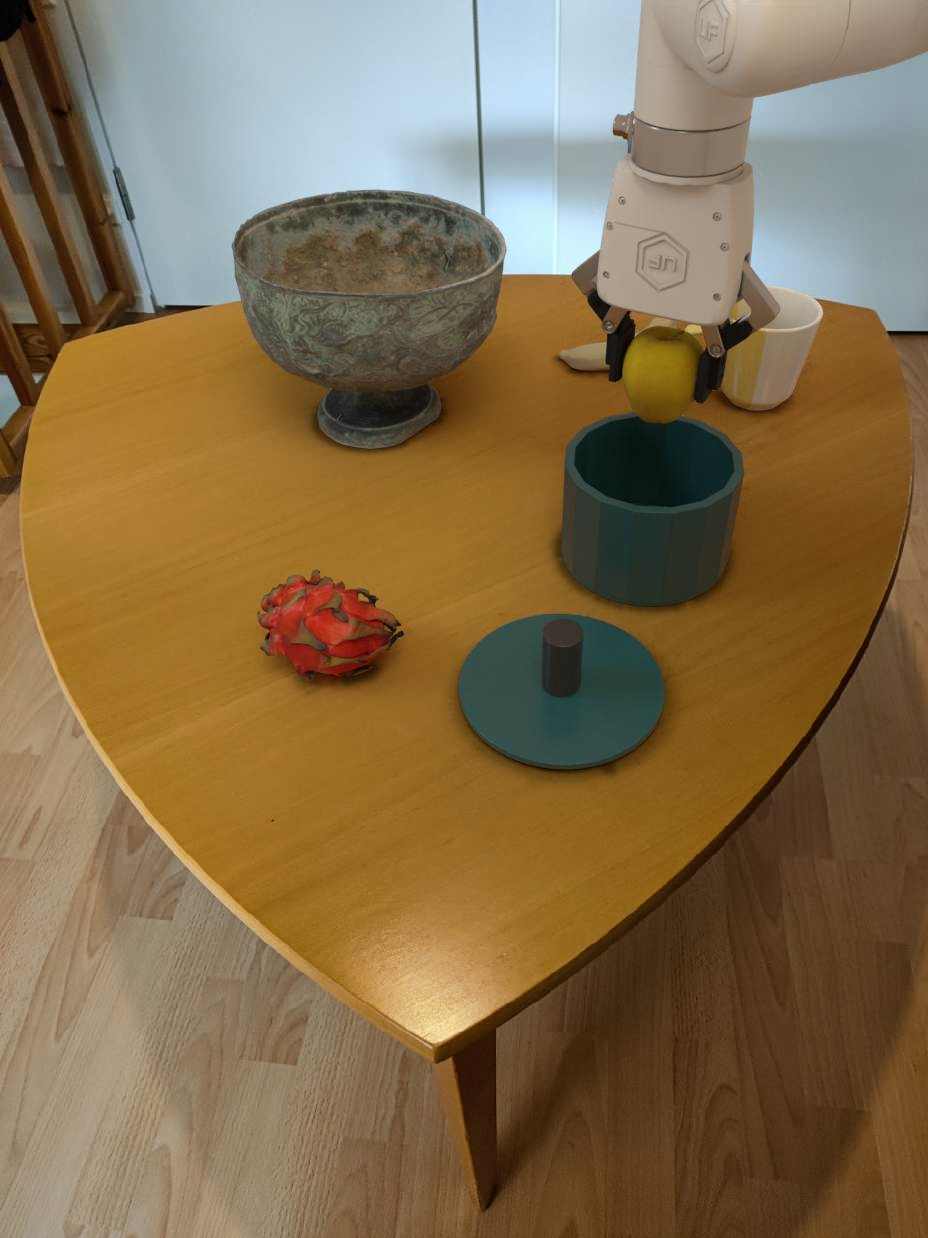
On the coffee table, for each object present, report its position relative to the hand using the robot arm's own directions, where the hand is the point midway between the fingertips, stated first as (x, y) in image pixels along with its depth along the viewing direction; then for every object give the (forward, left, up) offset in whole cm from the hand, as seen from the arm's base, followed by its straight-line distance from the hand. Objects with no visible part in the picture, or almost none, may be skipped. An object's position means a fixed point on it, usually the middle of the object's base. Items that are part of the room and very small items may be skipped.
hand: (662, 382), depth 78 cm
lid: (-1, +19, -17) cm, 25 cm away
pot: (0, 0, -17) cm, 17 cm away
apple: (0, 0, -3) cm, 3 cm away
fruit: (+16, -33, -17) cm, 40 cm away
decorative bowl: (+34, -9, -17) cm, 39 cm away
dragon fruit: (+17, +24, -17) cm, 34 cm away
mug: (+1, -29, -17) cm, 34 cm away
